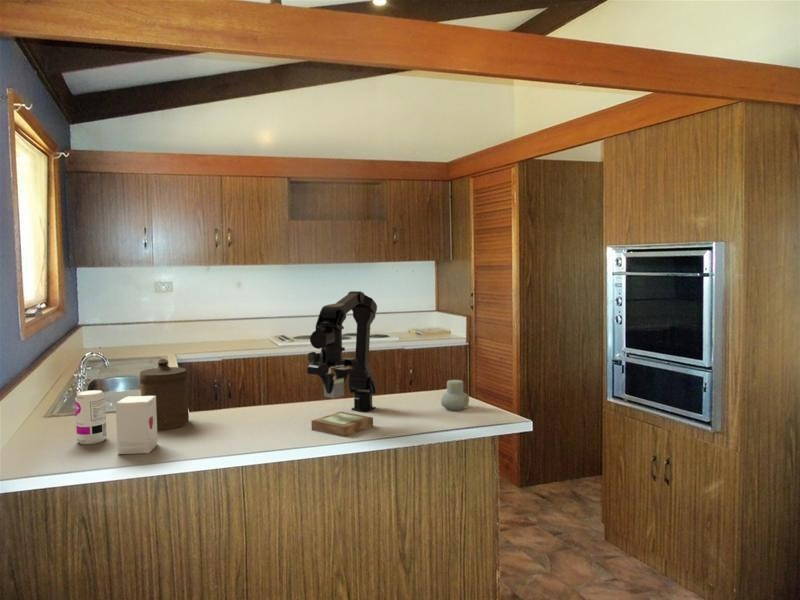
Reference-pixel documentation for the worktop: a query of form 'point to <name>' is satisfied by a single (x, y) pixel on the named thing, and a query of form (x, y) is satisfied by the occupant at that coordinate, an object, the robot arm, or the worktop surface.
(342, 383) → the grey box
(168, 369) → the wooden container
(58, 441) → the worktop surface
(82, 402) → the supplement can
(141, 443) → the supplement box
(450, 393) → the air freshener
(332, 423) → the platform
